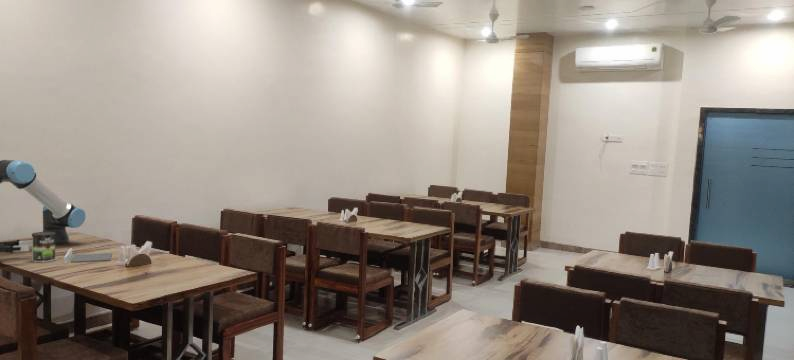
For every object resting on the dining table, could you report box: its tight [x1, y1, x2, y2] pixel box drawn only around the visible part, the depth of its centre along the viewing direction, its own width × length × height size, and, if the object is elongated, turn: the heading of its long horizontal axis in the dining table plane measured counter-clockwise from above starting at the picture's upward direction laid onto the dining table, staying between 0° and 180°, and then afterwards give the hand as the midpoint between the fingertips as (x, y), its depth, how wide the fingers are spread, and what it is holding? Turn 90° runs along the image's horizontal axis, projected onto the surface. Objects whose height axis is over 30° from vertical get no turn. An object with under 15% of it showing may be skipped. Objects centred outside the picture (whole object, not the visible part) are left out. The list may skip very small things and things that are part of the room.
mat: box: [70, 252, 113, 263], centre depth 307 cm, size 18×18×1 cm
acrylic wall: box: [63, 247, 73, 265], centre depth 303 cm, size 24×1×4 cm, turn 23°
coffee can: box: [31, 231, 56, 263], centre depth 298 cm, size 10×10×14 cm
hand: (31, 245), depth 295 cm, fingers open, 13 cm apart
